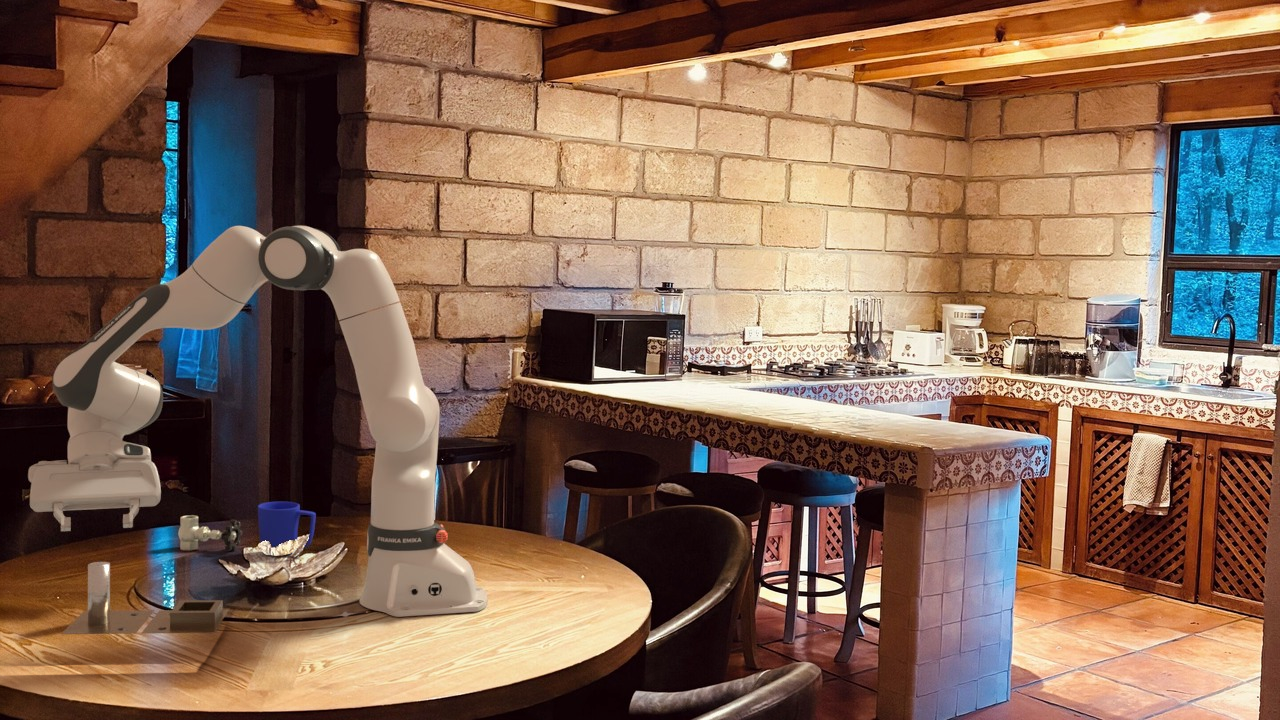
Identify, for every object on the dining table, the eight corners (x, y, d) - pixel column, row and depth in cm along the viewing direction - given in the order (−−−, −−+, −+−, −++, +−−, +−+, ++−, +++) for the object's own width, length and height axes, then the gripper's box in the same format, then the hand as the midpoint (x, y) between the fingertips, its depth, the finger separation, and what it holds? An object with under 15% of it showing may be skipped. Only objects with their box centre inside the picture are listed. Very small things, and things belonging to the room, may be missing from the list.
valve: (171, 551, 239) (227, 555, 237) (171, 519, 238) (228, 523, 237) (187, 544, 245) (242, 548, 244) (187, 513, 245) (242, 516, 243)
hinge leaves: (228, 616, 198) (228, 595, 198) (214, 639, 186) (214, 617, 186) (84, 618, 194) (84, 596, 194) (60, 641, 182) (60, 618, 182)
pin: (112, 618, 191) (112, 561, 190) (106, 624, 187) (106, 566, 187) (91, 618, 190) (91, 561, 189) (85, 625, 187) (85, 566, 186)
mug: (304, 562, 235) (305, 512, 234) (249, 556, 237) (249, 507, 236) (323, 552, 243) (324, 504, 242) (269, 547, 245) (270, 500, 244)
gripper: (28, 451, 197) (26, 521, 189) (159, 447, 206) (163, 513, 198) (28, 472, 202) (27, 541, 194) (157, 468, 211) (161, 533, 203)
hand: (97, 527), depth 196 cm, fingers open, 8 cm apart
